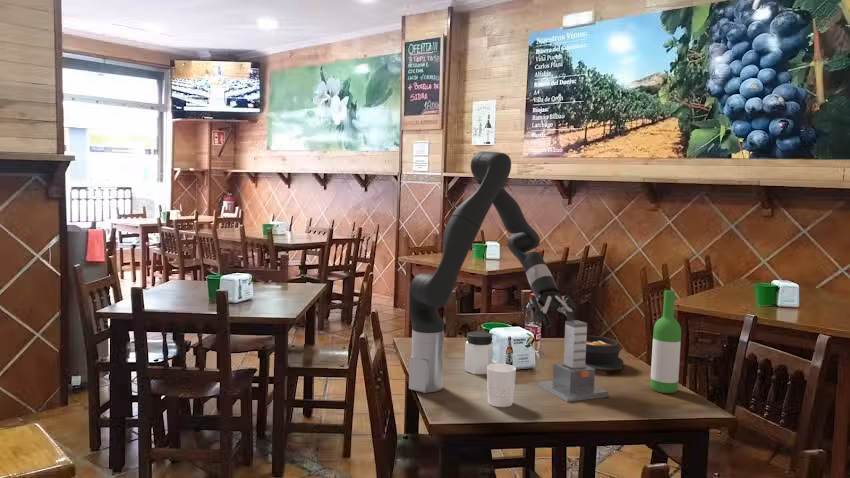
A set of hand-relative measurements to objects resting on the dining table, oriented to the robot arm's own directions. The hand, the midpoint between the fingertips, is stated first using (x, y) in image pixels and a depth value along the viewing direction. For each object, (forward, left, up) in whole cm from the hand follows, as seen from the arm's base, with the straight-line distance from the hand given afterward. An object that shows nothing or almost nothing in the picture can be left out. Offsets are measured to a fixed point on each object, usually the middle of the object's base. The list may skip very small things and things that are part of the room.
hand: (561, 325), depth 190 cm
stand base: (-4, -6, -18) cm, 19 cm away
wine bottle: (+16, -26, -18) cm, 36 cm away
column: (-4, -6, -16) cm, 18 cm away
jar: (-5, +26, -18) cm, 32 cm away
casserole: (+29, 0, -18) cm, 34 cm away
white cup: (-27, +5, -18) cm, 33 cm away
